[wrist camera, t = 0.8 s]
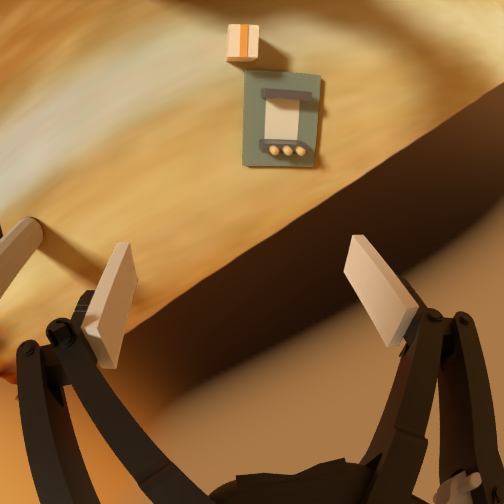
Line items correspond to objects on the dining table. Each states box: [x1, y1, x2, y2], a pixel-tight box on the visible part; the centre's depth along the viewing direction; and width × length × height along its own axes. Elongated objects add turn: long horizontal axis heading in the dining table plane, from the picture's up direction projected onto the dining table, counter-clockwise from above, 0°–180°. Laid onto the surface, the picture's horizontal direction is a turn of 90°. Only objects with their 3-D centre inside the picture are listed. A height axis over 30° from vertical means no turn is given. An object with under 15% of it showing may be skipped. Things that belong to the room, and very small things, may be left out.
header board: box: [242, 70, 321, 167], centre depth 42 cm, size 16×12×7 cm
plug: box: [226, 24, 259, 62], centre depth 34 cm, size 5×4×7 cm
